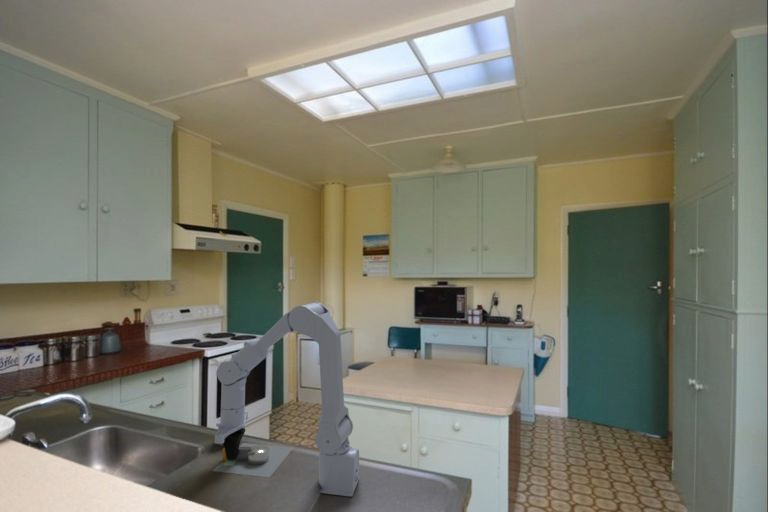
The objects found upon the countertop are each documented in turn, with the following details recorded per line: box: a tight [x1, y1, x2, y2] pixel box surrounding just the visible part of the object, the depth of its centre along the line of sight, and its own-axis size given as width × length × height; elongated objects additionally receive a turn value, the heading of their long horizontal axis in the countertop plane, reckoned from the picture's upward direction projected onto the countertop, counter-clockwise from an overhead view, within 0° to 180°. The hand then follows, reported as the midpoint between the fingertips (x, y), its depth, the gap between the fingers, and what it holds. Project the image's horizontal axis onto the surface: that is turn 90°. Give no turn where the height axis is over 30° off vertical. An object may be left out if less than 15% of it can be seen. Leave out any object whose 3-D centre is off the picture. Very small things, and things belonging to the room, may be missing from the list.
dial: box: [221, 444, 269, 465], centre depth 102 cm, size 6×12×3 cm, turn 92°
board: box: [212, 442, 294, 479], centre depth 103 cm, size 15×15×1 cm
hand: (231, 459), depth 100 cm, fingers closed
